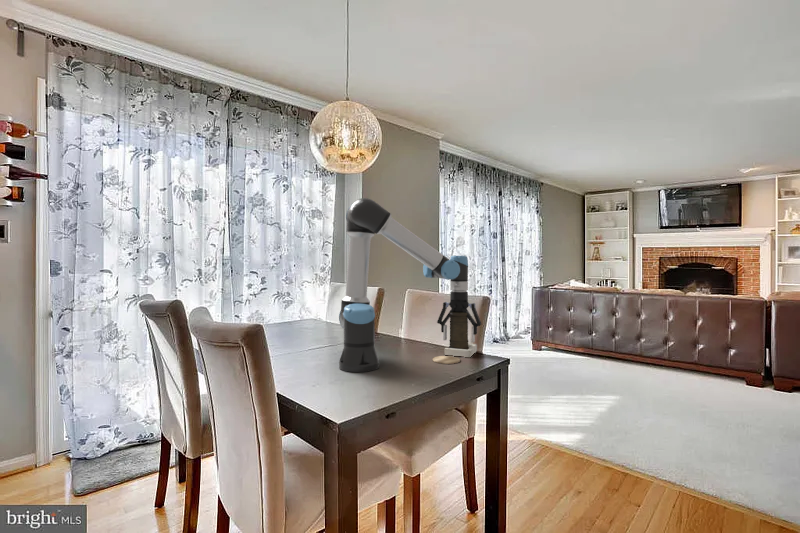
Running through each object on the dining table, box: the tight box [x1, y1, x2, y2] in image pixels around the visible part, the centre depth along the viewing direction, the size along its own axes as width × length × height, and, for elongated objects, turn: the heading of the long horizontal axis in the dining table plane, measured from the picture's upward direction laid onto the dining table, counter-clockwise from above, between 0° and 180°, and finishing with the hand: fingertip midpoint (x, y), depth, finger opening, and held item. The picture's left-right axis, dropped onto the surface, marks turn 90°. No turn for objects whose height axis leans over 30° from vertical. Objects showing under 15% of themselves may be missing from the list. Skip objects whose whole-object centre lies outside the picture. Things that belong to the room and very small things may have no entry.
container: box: [448, 311, 469, 350], centre depth 183 cm, size 9×9×18 cm
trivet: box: [432, 355, 461, 365], centre depth 169 cm, size 11×11×1 cm
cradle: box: [444, 343, 478, 358], centre depth 182 cm, size 11×14×3 cm
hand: (458, 341), depth 183 cm, fingers open, 12 cm apart
